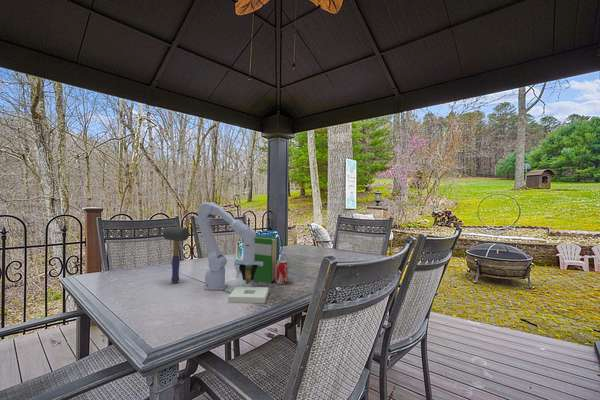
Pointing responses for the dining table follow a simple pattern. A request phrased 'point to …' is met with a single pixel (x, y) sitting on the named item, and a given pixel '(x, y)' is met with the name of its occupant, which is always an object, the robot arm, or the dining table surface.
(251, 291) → the sage board
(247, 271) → the oak peg
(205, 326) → the dining table surface
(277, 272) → the soda can
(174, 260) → the rubber mallet
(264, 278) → the hardback book
